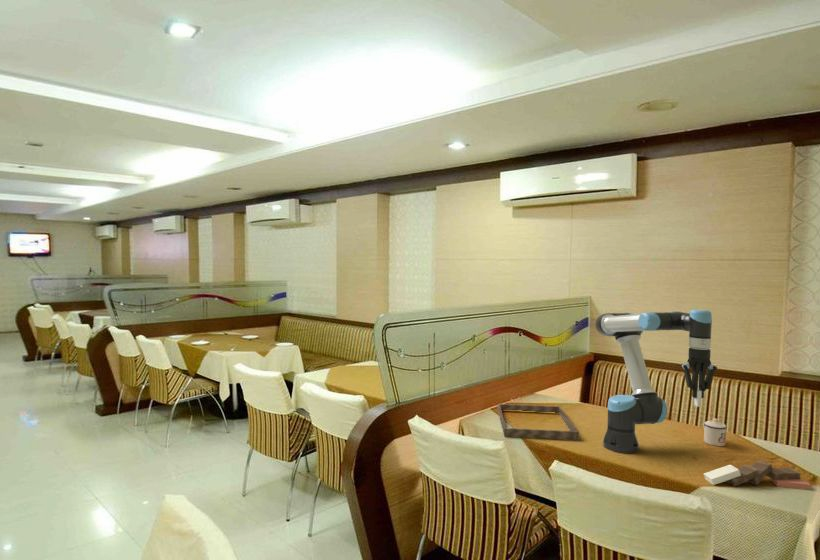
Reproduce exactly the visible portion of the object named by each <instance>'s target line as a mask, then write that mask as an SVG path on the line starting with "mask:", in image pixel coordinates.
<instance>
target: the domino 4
mask: <svg viewBox="0 0 820 560" xmlns="http://www.w3.org/2000/svg"><path fill="white" fill-rule="evenodd" d="M766 477H767V478H770V480H771V479H773V480H789V479H801V472H799V471H797V470H795V469H793V468H791V467H773V470H772V471H771V472H770V473H769V474H768V475H767V476H766Z"/></svg>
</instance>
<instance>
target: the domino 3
mask: <svg viewBox="0 0 820 560" xmlns="http://www.w3.org/2000/svg"><path fill="white" fill-rule="evenodd" d="M750 466H751V467H753V468H755V469H757V470H758V472H759V476H757V477H755V478H753V479H751V480H749V481H746V482H745V483H749V484H752V485H757V486H758V485H759V484H760V483H761V481H763V480H764V479H765V478H766V477H768V476H767V475H768V474H769V473H770V472H771V471H772V470H773V468H774V467H773V464H772V463H770V462H766V461H762V460H757V461H755V462H754V463H753V464H752V465H750Z"/></svg>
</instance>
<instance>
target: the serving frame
mask: <svg viewBox="0 0 820 560" xmlns="http://www.w3.org/2000/svg"><path fill="white" fill-rule="evenodd" d="M501 410H522V411H535V412H555V413H559V414H560V415H559V414H558V415H559V417H560V416H561V417H562V418H561V417H560V418H561V420H562V419H563V420H564V421H563V420H562V421H563V423H564V422H565V423H566V424H565V423H564V424H565V426H566V425H567V426H568V427H567V426H566V427H567V429H568V428H569V429H570V430H569V429H568V430H558V429H557V430H555V429H554V430H553V429H537V428H536V429H534V428H517V427H516V428H514V427H507V425H506V421H505V418H504V415H503V412H502V411H501ZM498 412H499V414H498V417H499V416H500V418H499V421H501V422H500V426H501V425H502V426H501V430H502V429H503V430H502V433H503V436H504V438H521V437H535V438H534V439H540V438H550V439H549V440H560V439H566V441H579V431H578V430H577V428H576V426H575V424H573V422H572V420H570V418H569V416H567V414H566V413H565V411H564V410H563V408H562V407H561V406H555V405H554V406H553V405H552V406H551V405H535V404H534V405H531V404H530V405H529V404H513V403H512V404H509V403H497V413H498Z"/></svg>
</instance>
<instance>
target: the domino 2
mask: <svg viewBox="0 0 820 560" xmlns="http://www.w3.org/2000/svg"><path fill="white" fill-rule="evenodd" d="M751 466H752V465H750V464H745V465H742V466H741V467H738V468H737V469H738V470H739V471H740V474H741V476H739V477H736V478H733V479H730V480H727V481H725V482H726V483H728V484H729V485H732V486H733V487H737V486H740V485H742V484H744V483H747V482H746V481H749V480H751V479H753V478H755V477H757V476H759V472H758V470H757V469H755V468H753V467H751Z"/></svg>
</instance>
